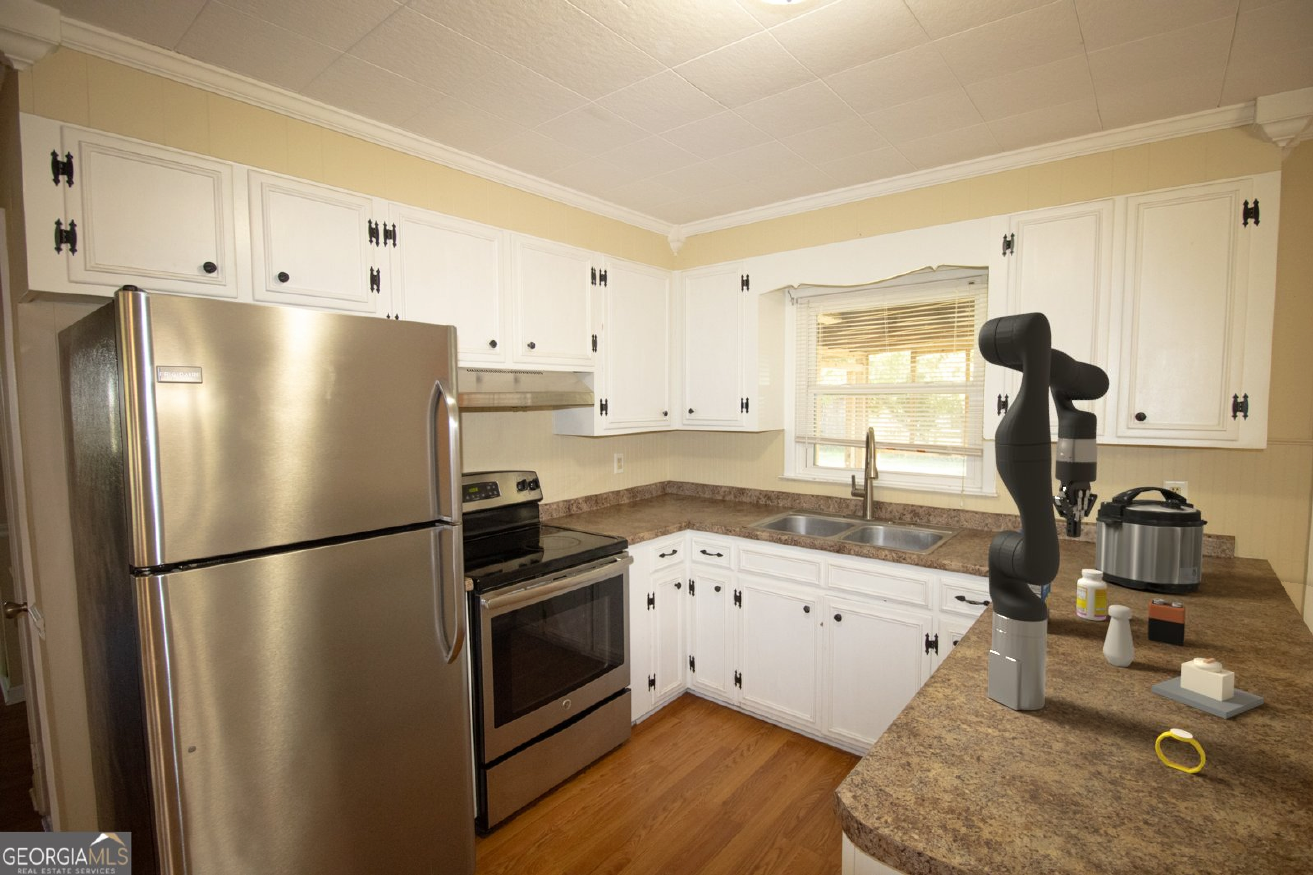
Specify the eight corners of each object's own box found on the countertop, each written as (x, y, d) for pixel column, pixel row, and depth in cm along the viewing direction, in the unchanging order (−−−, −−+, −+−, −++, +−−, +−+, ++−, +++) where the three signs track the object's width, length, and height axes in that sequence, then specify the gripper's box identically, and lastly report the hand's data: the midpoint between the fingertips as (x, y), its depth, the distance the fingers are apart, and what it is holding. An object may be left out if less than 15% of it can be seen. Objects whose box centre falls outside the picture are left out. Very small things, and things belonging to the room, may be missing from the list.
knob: (1221, 701, 117) (1223, 668, 117) (1180, 686, 123) (1181, 655, 123) (1233, 696, 119) (1235, 664, 119) (1192, 682, 125) (1193, 652, 125)
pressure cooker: (1189, 578, 205) (1194, 484, 204) (1221, 602, 180) (1226, 495, 178) (1082, 567, 219) (1085, 479, 217) (1098, 588, 194) (1101, 489, 192)
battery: (1148, 635, 154) (1150, 596, 154) (1184, 641, 150) (1185, 601, 149) (1147, 639, 151) (1149, 600, 151) (1183, 647, 147) (1185, 606, 146)
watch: (1204, 774, 97) (1209, 739, 96) (1200, 781, 95) (1206, 745, 94) (1156, 755, 101) (1160, 721, 100) (1152, 762, 99) (1157, 727, 99)
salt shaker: (1103, 655, 142) (1105, 600, 141) (1134, 662, 138) (1137, 605, 137) (1101, 663, 137) (1103, 607, 136) (1134, 670, 134) (1136, 612, 133)
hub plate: (1225, 719, 113) (1226, 694, 113) (1151, 691, 124) (1152, 668, 124) (1263, 703, 119) (1264, 680, 118) (1189, 678, 130) (1190, 657, 129)
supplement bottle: (1107, 617, 168) (1109, 571, 167) (1104, 623, 163) (1106, 575, 162) (1078, 611, 172) (1080, 566, 171) (1074, 617, 167) (1075, 571, 167)
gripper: (1074, 461, 128) (1072, 543, 129) (1112, 459, 134) (1109, 537, 135) (1039, 458, 135) (1037, 536, 136) (1077, 456, 140) (1074, 531, 141)
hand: (1073, 536), depth 135 cm, fingers closed
